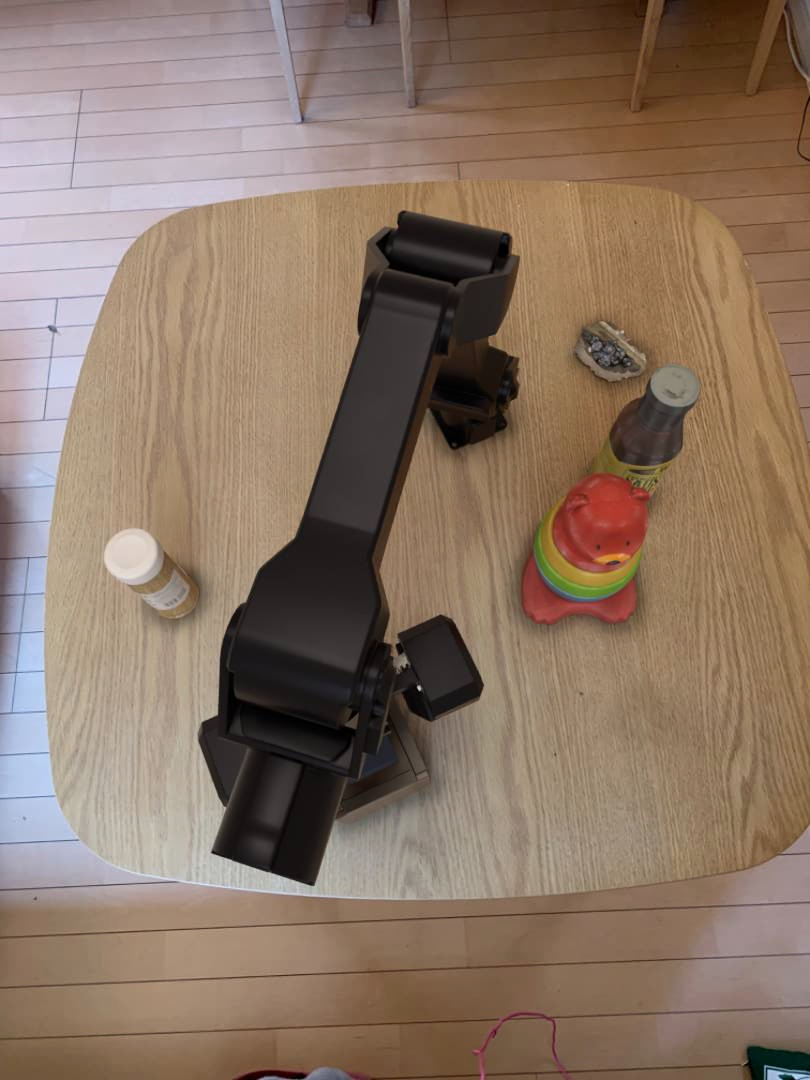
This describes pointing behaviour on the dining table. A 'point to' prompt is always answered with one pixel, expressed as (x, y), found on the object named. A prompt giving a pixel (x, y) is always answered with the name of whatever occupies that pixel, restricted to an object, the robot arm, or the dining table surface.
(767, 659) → the dining table surface
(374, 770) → the dark blue rectangular block
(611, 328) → the mineral rock specimen
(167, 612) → the sprinkles bottle
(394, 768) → the backing frame
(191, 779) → the dining table surface
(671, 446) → the sauce bottle
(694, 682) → the dining table surface
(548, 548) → the stacking bear
